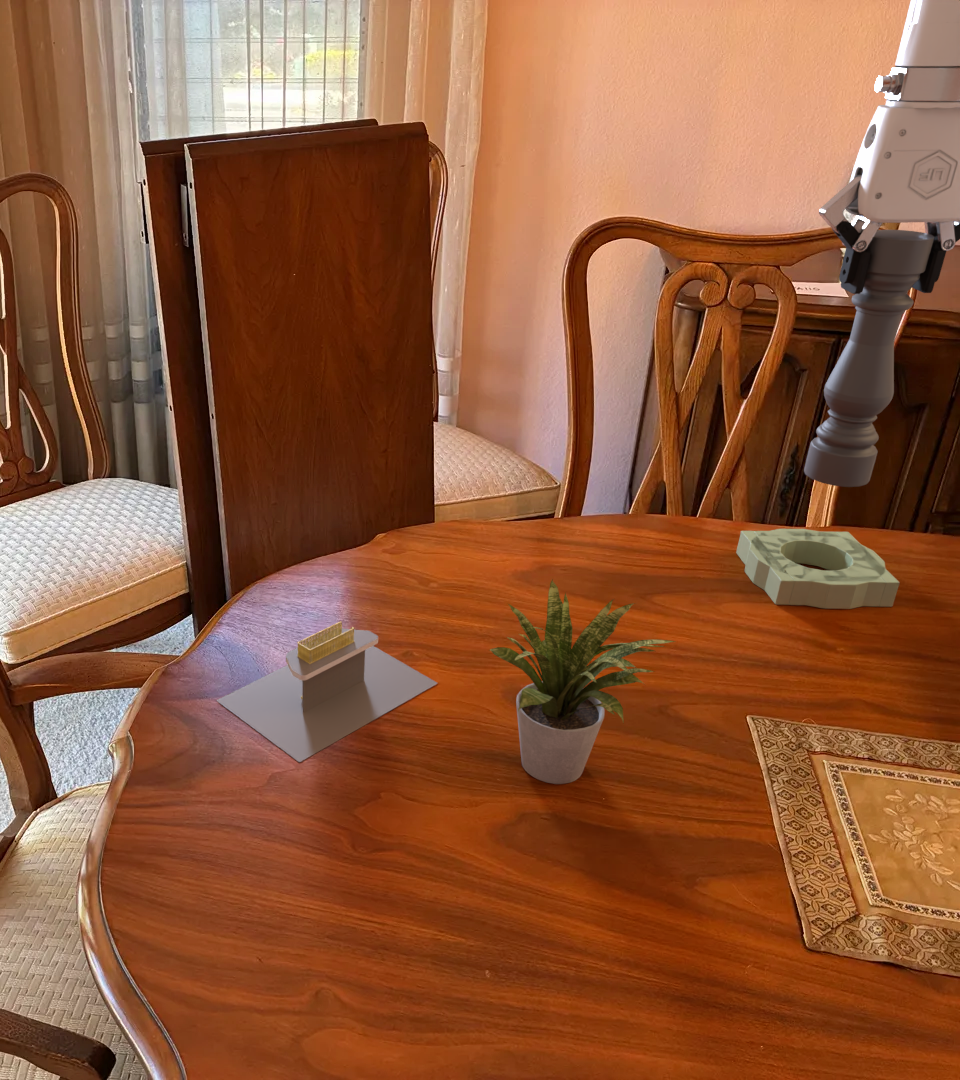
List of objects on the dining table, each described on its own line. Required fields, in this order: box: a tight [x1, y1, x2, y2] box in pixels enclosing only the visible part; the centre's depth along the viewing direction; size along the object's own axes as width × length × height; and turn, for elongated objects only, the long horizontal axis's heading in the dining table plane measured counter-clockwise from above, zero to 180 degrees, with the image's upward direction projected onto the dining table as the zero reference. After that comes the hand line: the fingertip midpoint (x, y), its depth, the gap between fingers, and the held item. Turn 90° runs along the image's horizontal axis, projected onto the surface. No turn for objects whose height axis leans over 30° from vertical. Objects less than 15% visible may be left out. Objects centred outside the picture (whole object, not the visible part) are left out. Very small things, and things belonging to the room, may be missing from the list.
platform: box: [216, 620, 438, 763], centre depth 95 cm, size 12×18×7 cm, turn 129°
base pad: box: [735, 528, 900, 610], centre depth 112 cm, size 13×13×3 cm
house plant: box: [488, 578, 677, 785], centre depth 81 cm, size 14×14×16 cm
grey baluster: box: [803, 229, 934, 488], centre depth 101 cm, size 6×6×25 cm
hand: (885, 288), depth 98 cm, fingers closed on grey baluster, 5 cm apart
